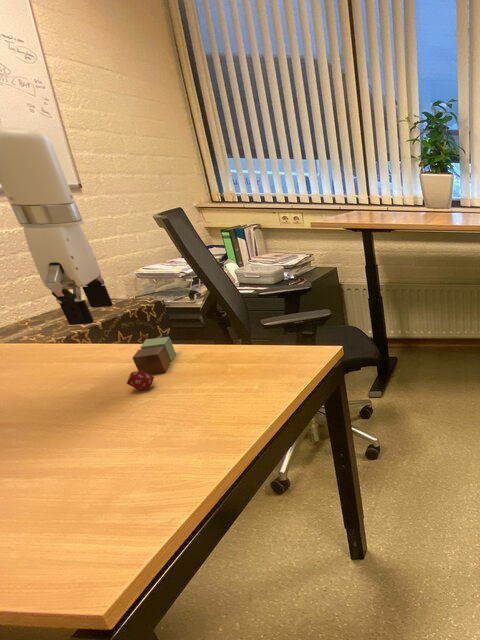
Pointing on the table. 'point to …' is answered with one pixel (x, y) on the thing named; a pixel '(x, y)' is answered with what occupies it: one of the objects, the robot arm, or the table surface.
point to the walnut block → (151, 360)
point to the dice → (140, 380)
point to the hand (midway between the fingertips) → (92, 314)
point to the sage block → (159, 343)
